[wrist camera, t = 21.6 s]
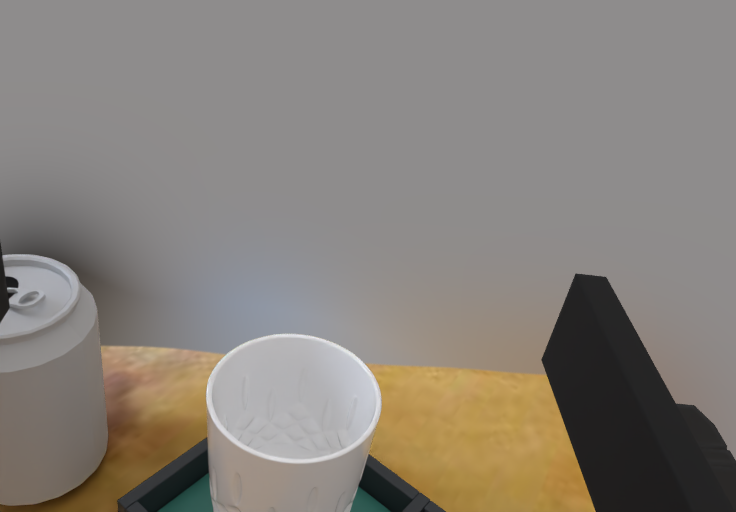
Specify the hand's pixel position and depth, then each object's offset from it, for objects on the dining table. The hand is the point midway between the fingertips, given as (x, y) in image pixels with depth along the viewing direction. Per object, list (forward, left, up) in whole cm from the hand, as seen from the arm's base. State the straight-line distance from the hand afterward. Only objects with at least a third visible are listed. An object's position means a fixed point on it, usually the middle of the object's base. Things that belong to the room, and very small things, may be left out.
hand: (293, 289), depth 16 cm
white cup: (-6, +8, -23) cm, 25 cm away
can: (-18, +2, -24) cm, 30 cm away
